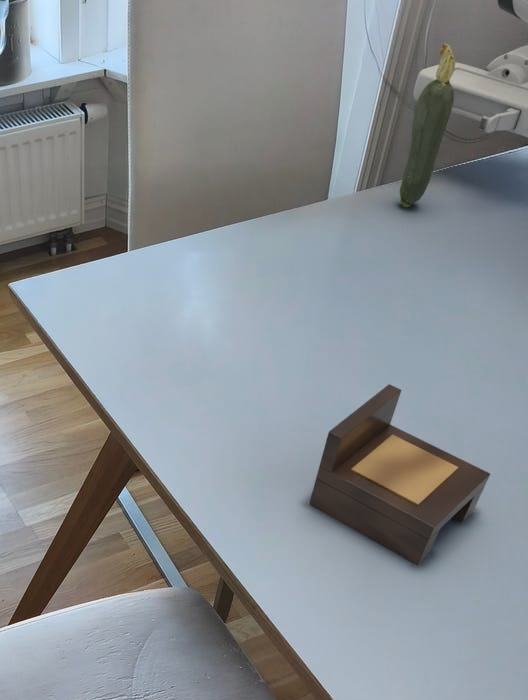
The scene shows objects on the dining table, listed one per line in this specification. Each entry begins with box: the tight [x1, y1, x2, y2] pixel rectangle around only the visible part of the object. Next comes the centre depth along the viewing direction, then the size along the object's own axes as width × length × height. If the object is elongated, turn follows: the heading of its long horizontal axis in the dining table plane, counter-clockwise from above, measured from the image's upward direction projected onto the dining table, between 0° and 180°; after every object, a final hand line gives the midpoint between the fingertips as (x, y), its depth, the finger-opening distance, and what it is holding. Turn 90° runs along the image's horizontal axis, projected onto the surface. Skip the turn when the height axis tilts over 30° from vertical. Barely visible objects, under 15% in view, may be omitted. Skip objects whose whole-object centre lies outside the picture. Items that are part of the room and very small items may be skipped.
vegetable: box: [399, 43, 456, 208], centre depth 116 cm, size 4×4×20 cm
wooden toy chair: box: [308, 383, 491, 566], centre depth 82 cm, size 12×10×9 cm
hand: (453, 114), depth 118 cm, fingers open, 8 cm apart
